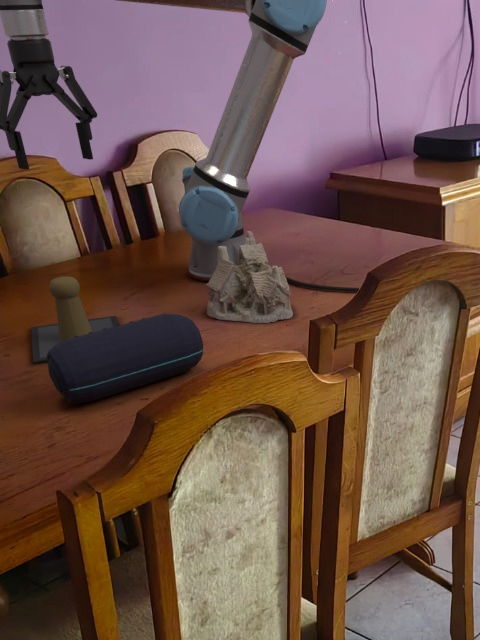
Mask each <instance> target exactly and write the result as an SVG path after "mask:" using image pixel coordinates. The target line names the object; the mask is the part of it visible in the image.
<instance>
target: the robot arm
mask: <svg viewBox="0 0 480 640" xmlns="http://www.w3.org/2000/svg"><path fill="white" fill-rule="evenodd" d="M117 1H118V2H128V3H129V2H130V3H138V4H139V3H140V4H146V5H147V4H148V5H149V4H150V5H159V6H168V7H170V6H171V7H178V8H179V7H180V8H189V9H199V10H200V9H201V10H209V11H221V12H229V13H240V14H245V15H246V16H247V17H249V18H248V20H247V22H248V25H249V28H250V30H251V37H250V40H249V42H248V45H247V48H246V51H245V53H244V56H243V58H242V61H241V64H240V67H239V69H238V72H237V75H236V77H235V80H234V82H233V85H232V88H231V91H230V92H229V93H230V94H229V95H228V98H227V101H226V104H225V107H224V109H223V112H222V114H221V117H220V120H219V123H218V125H217V128H216V131H215V133H214V137H213V139H212V141H211V144H210V146H209V149H208V152H207V155H206V157H205V158H202V159H199V160H197V161H196V162H195V165H194V166H187V167H184V168H183V169H182V174H181V175H182V178H181V181H182V184H183V188H184V193H183V196H182V197H181V199H180V201H179V205H178V215H179V219H180V222H181V225H182V227H183V229H184V231H185V232H186V233H187V234H188V235H189V237H190V238H192V240H191V241H192V242H191V248H190V254H189V255H190V256H189V261H188V273H189V276H190V278H192V279H193V280H197V281H201V282H207V283H209V280H210V279H211V277H212V274H214V272H215V270H216V268H217V265H218V260H217V259H218V247H219V246H226V248H227V253H228V256H229V261H231V262H233V263H235V265H236V266H237V265H240V263H239V261H238V258H239V255H238V254H239V248H240V247H239V246H242V245H244V238H245V237H246V236H245V229H244V222H243V215H242V211H243V210H244V207H245V204H246V202H247V199H248V197H249V194H250V192H251V187H250V185H249V182H248V176H249V173H250V171H251V168H252V165H253V163H254V161H255V158H256V156H257V154H258V151H259V149H260V146H261V143H262V140H263V138H264V135H265V133H266V131H267V129H268V125H269V123H270V120H271V118H272V116H273V114H274V111H275V108H276V105H277V103H278V100H279V98H280V95H281V93H282V91H283V88H284V85H285V83H286V81H287V79H288V76H289V74H290V70H291V69H292V65H293V63H294V60H295V59H296V58H299V57H302V56H304V55H306V53H307V50H308V48H309V45H310V43H311V40H312V38H313V35H314V33H315V31H316V28H317V25H319V24H320V22H321V21H322V19H323V17H324V15H325V12H326V8H327V3H328V2H327V1H328V0H116V2H117ZM0 19H1V23H2V28H3V31H4V35H5V36H6V37H7V38H9V40H7V42H6V45H7V49H8V52H9V57H10V60H11V63H12V67H13V70H12V71H8V70H0V130H1V131H4V133H5V136H6V140H7V141H6V142H7V144H8V147H9V150H10V151H13V152H14V154H15V158H16V161H17V162H16V163H17V166H18V169H21V170H30V165H29V161H28V157H27V153H26V149H25V146H24V141H23V137H22V133H21V131H18V130H16V129H17V128H18V125H19V123H20V120H21V118H22V116H23V114H24V111H25V109H26V107H27V104H28V102H29V100H31V98H32V97H41V96H51V95H52V96H54V97H55V98H56V99H57V100H58V101H59V102H60V103H61V104H62V105H63V106H64V107H65V108H66V109H67V110H68V111H69V112H70V113H71V114H72V115H73V116H74V118H76V119H77V120H78V121H79V122H78V121H77V122H75V128H76V132H77V133H76V134H77V138H78V142H79V147H80V151H81V156H82V159H85V160H88V161H89V160H94V155H93V151H92V147H91V142H90V141H93V134H92V128H91V123H92V121H93V119H96V118H98V112H97V111H96V110H95V107H94V106H93V104H92V102H91V101H90V100H89V98H88V97H87V95H86V93H85V91H84V90H83V88H82V87H81V86H80V84H79V82H78V81H77V79H76V77H75V74H74V70H73V66H72V67H71V66H70V65H61V66H60V67H57V66H56V63H55V55H54V51H53V46H52V42H51V40H50V39H49V38H47V36H49V34H50V33H49V28H48V24H47V23H48V22H47V19H46V15H45V10H44V6H43V0H0ZM59 77H60V79H61V80H63V81H64V83H65V85H66V87H67V89H68V90H69V92H70V93H71V94H72V96H73V98H74V99H75V101H76V102H77V103H76V102H75V101H74V99H73V98H71V97H70V95H69V94H67V93H66V92H65V89H64V88H63V87H62V86H61V85H60V84H59V82H58V80H59ZM15 82H16V83H17V84H18V87H17V90H16V92H15V98H14V100H13V102H12V104H11V107H10V100H11V95H12V87H13V86H12V85H14V83H15ZM9 107H10V109H9ZM285 277H286V276H285ZM286 280H287V283H289V284H293V285H296V286H300V287H305V288H311V289H317V290H324V291H333V292H334V291H337V292H356V293H358V292H357V291H358V290H359V288H360V287H346V286H332V285H322V284H315V283H309V282H304V281H299V280H296V279H292V278H290V277H286Z"/></svg>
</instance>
